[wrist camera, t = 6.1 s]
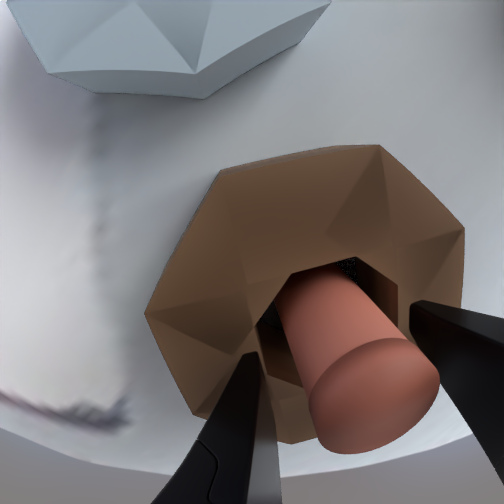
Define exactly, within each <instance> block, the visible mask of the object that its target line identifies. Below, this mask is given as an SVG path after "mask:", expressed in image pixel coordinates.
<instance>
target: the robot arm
mask: <svg viewBox="0 0 504 504" xmlns="http://www.w3.org/2000/svg"><path fill="white" fill-rule="evenodd" d="M409 331H410V333H411V335H412V337H413V339H414V340H415V342H416V344H417V346H418V348H419V349H420V351H421V352H422V353H423V354H424V355H425V356H426V357H427V358H428V360H429V361H430V362H431V363H432V364H433V365H434V366H435V368H436V369H437V371H438V373H439V376H440V384H441V385H442V387H443V388H444V389H445V391H446V392H447V394H448V395H449V397H450V398H451V400H452V401H453V403H454V404H455V406H456V407H457V409H458V410H459V412H460V413H461V415H462V416H463V418H464V419H465V421H466V423H467V424H468V426H469V427H470V429H471V430H472V432H473V434H474V435H475V437H476V438H477V440H478V441H479V443H480V445H481V446H482V448H483V450H484V451H485V453H486V455H487V456H488V458H489V460H490V462H491V463H492V465H493V467H494V468H495V471H496V472H497V474H498V476H499V478H500V479H501V481H502V483H503V485H504V318H499V317H495V316H491V315H486V314H482V313H478V312H473V311H469V310H465V309H461V308H456V307H452V306H448V305H444V304H439V303H435V302H431V301H427V300H419V301H416V302H413V303H411V305H410V307H409ZM197 439H198V440H195V442H194V444H193V446H192V447H191V449H190V451H189V453H188V454H187V456H186V457H185V459H184V461H183V462H182V464H181V465H180V467H179V468H178V469H177V471H176V472H175V474H174V475H173V476H172V478H171V479H170V480H169V482H168V483H167V484H166V486H165V487H164V488H163V489H162V490H161V492H160V493H159V494H158V495H157V497H156V498H155V499H154V500H153V501H152V503H151V504H282V496H281V483H280V470H279V457H278V445H277V433H276V423H275V418H274V413H273V409H272V405H271V400H270V396H269V392H268V387H267V383H266V379H265V375H264V371H263V368H262V364H261V361H260V357H259V354H258V352H257V351H253V352H249V353H245V354H243V355H242V356H241V358H240V360H239V362H238V364H237V366H236V368H235V370H234V371H233V373H232V375H231V377H230V379H229V381H228V383H227V385H226V386H225V388H224V390H223V392H222V394H221V396H220V397H219V399H218V401H217V403H216V405H215V407H214V408H213V410H212V412H211V414H210V416H209V418H208V419H207V421H206V423H205V425H204V426H203V428H202V430H201V432H200V434H199V435H198V437H197Z"/></svg>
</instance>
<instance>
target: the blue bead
mask: <svg viewBox="0 0 504 504" xmlns="http://www.w3.org/2000/svg"><path fill="white" fill-rule="evenodd" d="M330 3H331V0H7V2H6V4H7V5H8V7H9V9H10V11H11V13H12V15H13V16H14V18H15V20H16V22H17V23H18V25H19V27H20V29H21V30H22V32H23V34H24V36H25V37H26V39H27V41H28V42H29V44H30V46H31V47H32V49H33V51H34V52H35V54H36V56H37V57H38V59H39V61H40V62H41V64H42V65H43V67H44V69H45V70H46V72H47V73H48V74H50V75H53V76H55V77H58V78H60V79H63V80H65V81H68V82H70V83H73V84H75V85H77V86H80V87H82V88H85V89H87V90H89V91H92V92H94V93H134V94H152V95H166V96H178V97H188V98H197V99H205V98H207V97H208V96H210V95H211V94H213V93H214V92H216V91H217V90H219V89H220V88H222V87H223V86H225V85H226V84H228V83H229V82H231V81H233V80H234V79H236V78H237V77H239V76H241V75H242V74H244V73H245V72H247V71H249V70H250V69H252V68H254V67H255V66H257V65H259V64H261V63H262V62H264V61H266V60H268V59H269V58H271V57H273V56H275V55H277V54H278V53H280V52H282V51H284V50H286V49H288V48H290V47H291V46H293V45H295V44H297V43H299V42H301V40H302V39H303V38H304V36H305V35H306V34H307V32H308V31H309V30H310V29H311V27H312V26H313V25H314V23H315V22H316V21H317V20H318V18H319V17H320V16H321V14H322V13H323V12H324V11H325V9H326V8H327V7H328V6H329V5H330Z"/></svg>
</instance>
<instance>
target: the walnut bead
mask: <svg viewBox="0 0 504 504" xmlns="http://www.w3.org/2000/svg"><path fill="white" fill-rule="evenodd" d="M464 246H465V228H464V227H463V225H462V224H461V223H460V222H459V221H458V220H457V219H456V218H455V217H454V215H453V214H452V213H451V212H450V211H449V210H448V209H447V208H446V207H445V206H444V205H443V204H442V203H441V202H440V201H439V200H438V199H437V198H436V197H435V195H434V194H433V193H432V192H431V191H430V190H429V189H428V188H427V187H425V186H424V185H423V184H422V183H421V182H420V181H419V180H418V179H417V178H416V177H415V176H414V175H413V174H412V173H411V172H410V171H409V170H408V169H407V168H405V167H404V166H403V165H402V164H401V163H400V162H399V161H398V160H397V159H395V158H394V157H393V156H392V155H391V154H390V153H389V152H387V151H386V150H385V149H384V148H383V147H382V146H380V145H342V146H330V147H325V148H319V149H314V150H308V151H303V152H298V153H293V154H288V155H283V156H279V157H274V158H269V159H265V160H260V161H256V162H252V163H247V164H243V165H239V166H235V167H231V168H227V169H223V170H220V172H219V174H218V175H217V177H216V179H215V180H214V182H213V184H212V185H211V187H210V189H209V190H208V192H207V194H206V195H205V197H204V199H203V201H202V202H201V204H200V206H199V207H198V209H197V211H196V213H195V214H194V216H193V218H192V220H191V221H190V223H189V225H188V227H187V228H186V230H185V232H184V234H183V236H182V237H181V239H180V241H179V243H178V245H177V246H176V248H175V250H174V252H173V254H172V256H171V257H170V259H169V261H168V263H167V265H166V267H165V269H164V271H163V273H162V275H161V277H160V279H159V281H158V284H157V286H156V288H155V290H154V292H153V295H152V297H151V299H150V301H149V303H148V306H147V308H146V310H145V312H144V315H145V317H146V319H147V322H148V324H149V326H150V329H151V331H152V333H153V335H154V338H155V340H156V342H157V344H158V346H159V349H160V351H161V353H162V355H163V357H164V359H165V361H166V363H167V365H168V368H169V370H170V372H171V374H172V376H173V378H174V380H175V382H176V384H177V386H178V388H179V389H180V391H181V393H182V395H183V397H184V399H185V401H186V403H187V405H188V407H189V408H190V410H191V412H192V414H193V415H195V416H198V417H200V418H203V419H206V420H207V419H208V418H209V416H210V414H211V412H212V410H213V408H214V407H215V405H216V403H217V401H218V399H219V397H220V396H221V394H222V392H223V390H224V388H225V386H226V385H227V383H228V381H229V379H230V377H231V375H232V373H233V371H234V370H235V368H236V366H237V364H238V362H239V360H240V358H241V356H242V355H243V354H245V353H249V352H253V351H257V352H258V354H259V357H260V361H261V364H262V368H263V371H264V375H265V379H266V383H267V387H268V392H269V396H270V400H271V405H272V409H273V413H274V418H275V423H276V433H277V441H279V442H283V443H287V444H295V443H299V442H303V441H306V440H310V439H314V438H317V434H316V431H315V428H314V424H313V421H312V418H311V415H310V412H309V406H308V404H309V403H308V400H307V397H306V394H305V391H304V388H303V385H302V382H301V379H300V376H299V373H298V370H297V367H296V364H295V361H294V358H293V355H292V353H291V350H290V347H289V344H288V341H287V338H286V335H285V333H284V332H282V331H280V330H278V329H276V328H274V327H272V326H270V325H267V324H265V323H263V322H261V321H259V319H260V318H261V316H262V315H263V313H264V312H265V311H266V309H267V308H268V306H269V305H270V304H271V302H272V301H273V299H274V298H275V296H276V295H277V293H278V292H279V291H280V289H281V288H282V286H283V285H284V283H285V282H286V280H287V279H288V277H289V276H290V275H291V273H295V272H299V271H302V270H306V269H310V268H314V267H317V266H321V265H325V264H329V263H332V262H336V261H340V260H343V259H347V258H350V257H354V256H355V263H356V272H357V283H358V286H359V288H360V289H361V290H362V291H363V292H364V293H365V294H366V295H367V296H368V297H369V298H370V299H371V300H372V301H373V302H374V303H375V304H376V306H377V307H378V308H379V309H380V310H381V311H382V312H383V313H384V314H385V315H386V316H387V317H388V318H389V320H390V321H391V322H392V323H393V324H394V325H395V326H396V327H397V328H398V329H399V330H400V332H401V333H402V334H403V335H404V336H405V337H406V338H407V339H408V340H409V341H410V342H412V343H414V344H415V345H416V346H417V344H416V342H415V340H414V339H413V337H412V335H411V333H410V331H409V307H410V305H411V303H413V302H416V301H419V300H427V301H431V302H435V303H439V304H444V305H448V306H452V307H456V308H460V307H461V298H462V287H463V272H464ZM417 347H418V346H417Z"/></svg>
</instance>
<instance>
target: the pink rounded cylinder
mask: <svg viewBox="0 0 504 504" xmlns="http://www.w3.org/2000/svg"><path fill="white" fill-rule="evenodd" d="M273 300H274V303H275V306H276V309H277V312H278V315H279V317H280V320H281V323H282V326H283V329H284V332H285V335H286V338H287V341H288V344H289V347H290V350H291V353H292V355H293V358H294V361H295V364H296V367H297V370H298V373H299V376H300V379H301V382H302V385H303V388H304V391H305V394H306V397H307V400H308V403H309V404H308V406H309V412H310V415H311V418H312V421H313V424H314V428H315V431H316V434H317V437H318V440H319V442H320V443H321V445H322V446H323V447H324V448H326V449H327V450H329V451H331V452H334V453H339V454H358V453H363V452H367V451H371V450H374V449H377V448H380V447H382V446H384V445H387V444H389V443H390V442H392V441H394V440H396V439H397V438H399V437H401V436H402V435H404V434H405V433H406V432H408V431H409V430H410V429H411V428H413V427H414V426H415V425H416V424H417V423H418V422H419V421H420V420H421V419H422V418H423V417H424V415H425V414H426V413H427V412H428V410H429V409H430V407H431V406H432V404H433V402H434V401H435V399H436V396H437V394H438V390H439V386H440V376H439V373H438V371H437V369H436V368H435V366H434V365H433V364H432V363H431V362H430V361H429V360H428V358H427V357H426V356H425V355H424V354H423V353H422V352H421V351H420V349H419V348H418V347H417V346H416V345H415V344H414V343H412V342H410V341H409V340H408V339H407V338H406V337H405V336H404V335H403V334H402V333H401V332H400V330H399V329H398V328H397V327H396V326H395V325H394V324H393V323H392V322H391V321H390V320H389V318H388V317H387V316H386V315H385V314H384V313H383V312H382V311H381V310H380V309H379V308H378V307H377V306H376V304H375V303H374V302H373V301H372V300H371V299H370V298H369V297H368V296H367V295H366V294H365V293H364V292H363V291H362V290H361V289H360V288H359V286H358V285H357V284H356V283H355V282H354V281H353V280H352V279H351V278H350V277H349V276H348V275H347V274H346V273H345V272H344V271H343V270H342V269H341V268H340V267H339V266H338V265H337V264H336V263H335V262H332V263H329V264H325V265H321V266H317V267H314V268H310V269H306V270H302V271H299V272H295V273H291V275H290V276H289V277H288V279H287V280H286V282H285V283H284V285H283V286H282V288H281V289H280V291H279V292H278V293H277V295H276V296H275V298H274V299H273Z"/></svg>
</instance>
